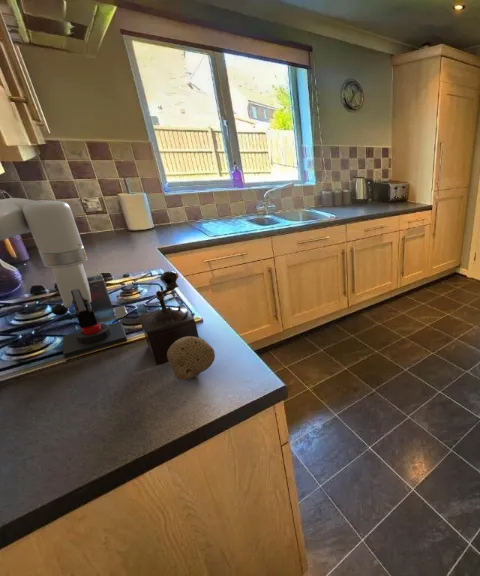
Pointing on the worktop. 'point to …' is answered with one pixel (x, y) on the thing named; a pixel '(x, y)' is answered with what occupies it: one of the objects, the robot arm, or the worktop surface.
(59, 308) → the switch lever
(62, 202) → the robot arm
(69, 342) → the control block
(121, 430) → the worktop surface
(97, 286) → the switch bracket
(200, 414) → the worktop surface
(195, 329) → the manual coffee grinder
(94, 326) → the stop button
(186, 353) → the natural sponge
